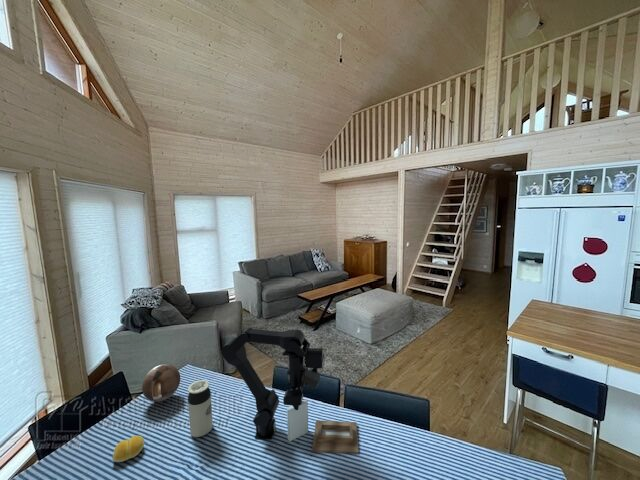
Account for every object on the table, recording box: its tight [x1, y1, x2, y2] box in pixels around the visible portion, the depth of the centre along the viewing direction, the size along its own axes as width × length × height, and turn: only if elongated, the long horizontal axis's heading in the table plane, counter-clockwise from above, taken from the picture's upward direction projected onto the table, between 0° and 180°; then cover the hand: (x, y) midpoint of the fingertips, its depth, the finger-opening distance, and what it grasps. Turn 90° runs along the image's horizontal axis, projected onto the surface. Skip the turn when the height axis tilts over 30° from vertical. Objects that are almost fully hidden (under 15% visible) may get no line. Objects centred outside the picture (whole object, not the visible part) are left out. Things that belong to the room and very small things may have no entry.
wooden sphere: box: [141, 363, 181, 402], centre depth 120 cm, size 15×15×15 cm
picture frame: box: [311, 419, 359, 455], centre depth 97 cm, size 16×13×3 cm
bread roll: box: [112, 435, 145, 463], centre depth 92 cm, size 8×9×4 cm
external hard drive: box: [286, 399, 309, 442], centre depth 98 cm, size 2×8×12 cm, turn 121°
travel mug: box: [187, 379, 214, 438], centre depth 101 cm, size 8×8×18 cm
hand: (297, 405), depth 97 cm, fingers open, 4 cm apart
